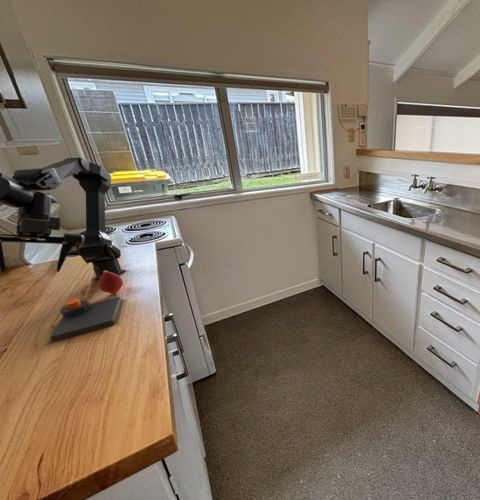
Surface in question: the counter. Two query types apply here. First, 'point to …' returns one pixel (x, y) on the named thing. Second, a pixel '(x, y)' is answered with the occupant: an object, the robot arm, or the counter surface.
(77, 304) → the tare button
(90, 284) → the counter surface
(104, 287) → the onion
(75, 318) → the scale
